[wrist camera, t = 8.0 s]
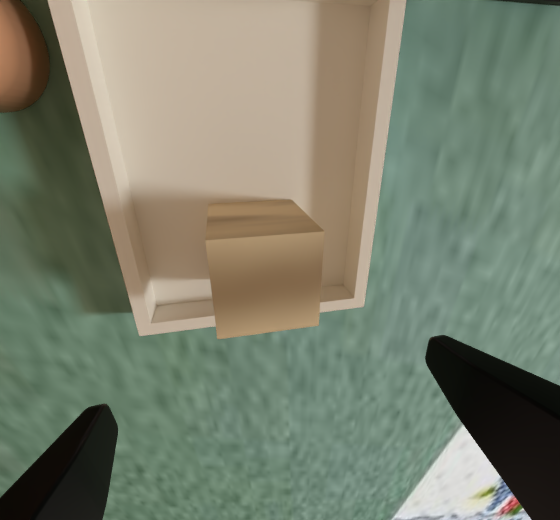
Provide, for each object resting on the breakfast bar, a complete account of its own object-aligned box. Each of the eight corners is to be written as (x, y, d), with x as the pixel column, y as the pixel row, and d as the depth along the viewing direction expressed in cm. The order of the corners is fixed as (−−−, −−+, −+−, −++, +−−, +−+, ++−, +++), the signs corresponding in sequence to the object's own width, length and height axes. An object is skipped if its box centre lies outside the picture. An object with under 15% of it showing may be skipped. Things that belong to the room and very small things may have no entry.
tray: (381, -9, 15) (411, -33, 12) (348, 288, 22) (363, 306, 20) (62, -35, 12) (27, -71, 10) (148, 312, 20) (139, 336, 17)
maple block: (290, 271, 20) (318, 325, 14) (216, 279, 19) (217, 339, 14) (291, 199, 18) (324, 231, 12) (208, 204, 17) (205, 240, 11)
